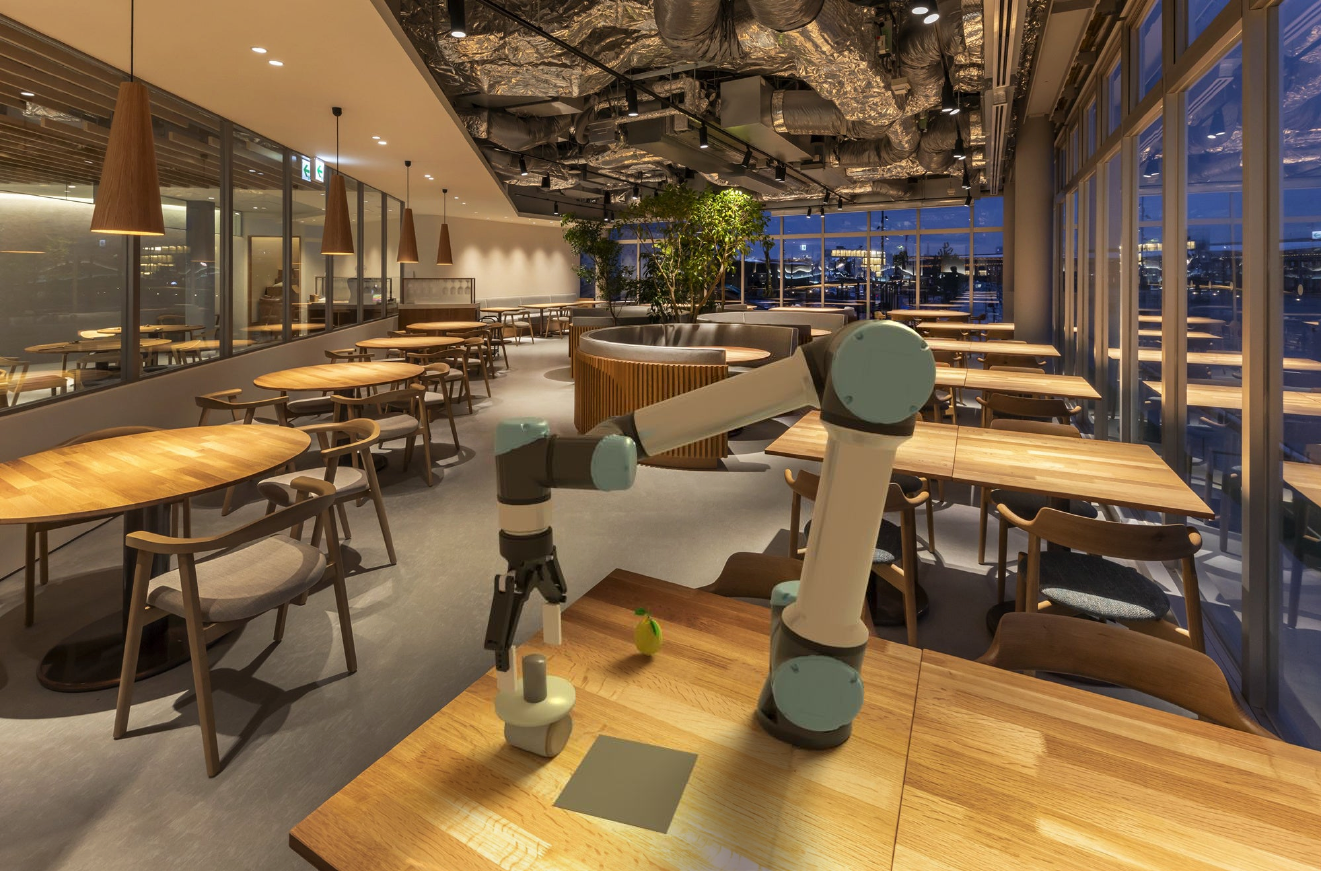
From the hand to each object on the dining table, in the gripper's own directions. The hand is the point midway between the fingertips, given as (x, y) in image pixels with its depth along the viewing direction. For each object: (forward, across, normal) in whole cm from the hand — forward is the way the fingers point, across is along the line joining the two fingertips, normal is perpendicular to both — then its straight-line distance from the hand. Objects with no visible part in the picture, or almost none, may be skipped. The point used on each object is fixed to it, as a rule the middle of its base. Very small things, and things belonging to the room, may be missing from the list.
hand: (531, 664), depth 99 cm
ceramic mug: (+14, -2, 0) cm, 15 cm away
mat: (+14, +2, +16) cm, 21 cm away
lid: (+7, -1, 0) cm, 7 cm away
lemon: (+14, -32, +7) cm, 36 cm away
